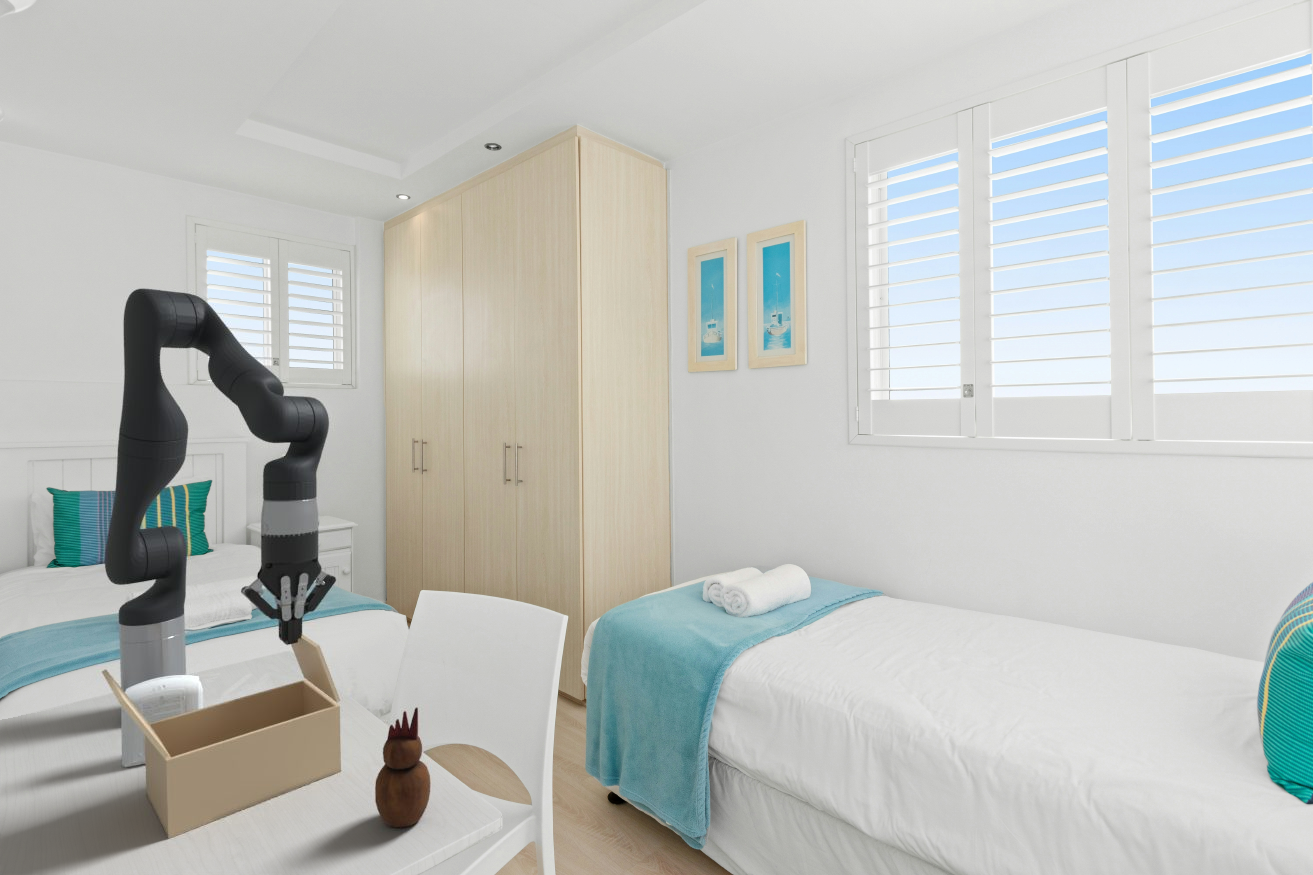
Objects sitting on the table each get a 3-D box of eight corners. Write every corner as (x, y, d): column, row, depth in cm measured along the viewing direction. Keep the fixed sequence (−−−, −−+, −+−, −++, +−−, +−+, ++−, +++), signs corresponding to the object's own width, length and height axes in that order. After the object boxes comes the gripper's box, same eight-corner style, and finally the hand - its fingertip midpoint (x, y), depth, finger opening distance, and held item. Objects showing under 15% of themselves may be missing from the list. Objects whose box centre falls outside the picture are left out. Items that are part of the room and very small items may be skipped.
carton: (146, 794, 91) (144, 724, 91) (306, 739, 107) (305, 679, 106) (168, 838, 82) (166, 760, 81) (341, 771, 97) (339, 705, 97)
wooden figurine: (439, 811, 87) (437, 702, 87) (409, 838, 82) (408, 721, 81) (398, 802, 90) (396, 695, 89) (366, 827, 84) (365, 713, 84)
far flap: (283, 626, 104) (287, 624, 104) (303, 677, 106) (307, 675, 106) (315, 646, 94) (319, 644, 95) (337, 702, 97) (340, 700, 97)
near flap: (147, 720, 91) (143, 723, 91) (105, 668, 88) (101, 671, 87) (168, 755, 82) (164, 758, 81) (123, 699, 78) (118, 702, 78)
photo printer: (204, 740, 106) (202, 666, 106) (203, 752, 103) (202, 675, 102) (124, 759, 101) (121, 680, 100) (120, 771, 97) (117, 690, 97)
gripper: (327, 521, 105) (326, 627, 105) (232, 530, 95) (232, 647, 96) (345, 526, 100) (345, 638, 100) (247, 537, 90) (247, 660, 91)
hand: (290, 642), depth 98 cm, fingers closed
